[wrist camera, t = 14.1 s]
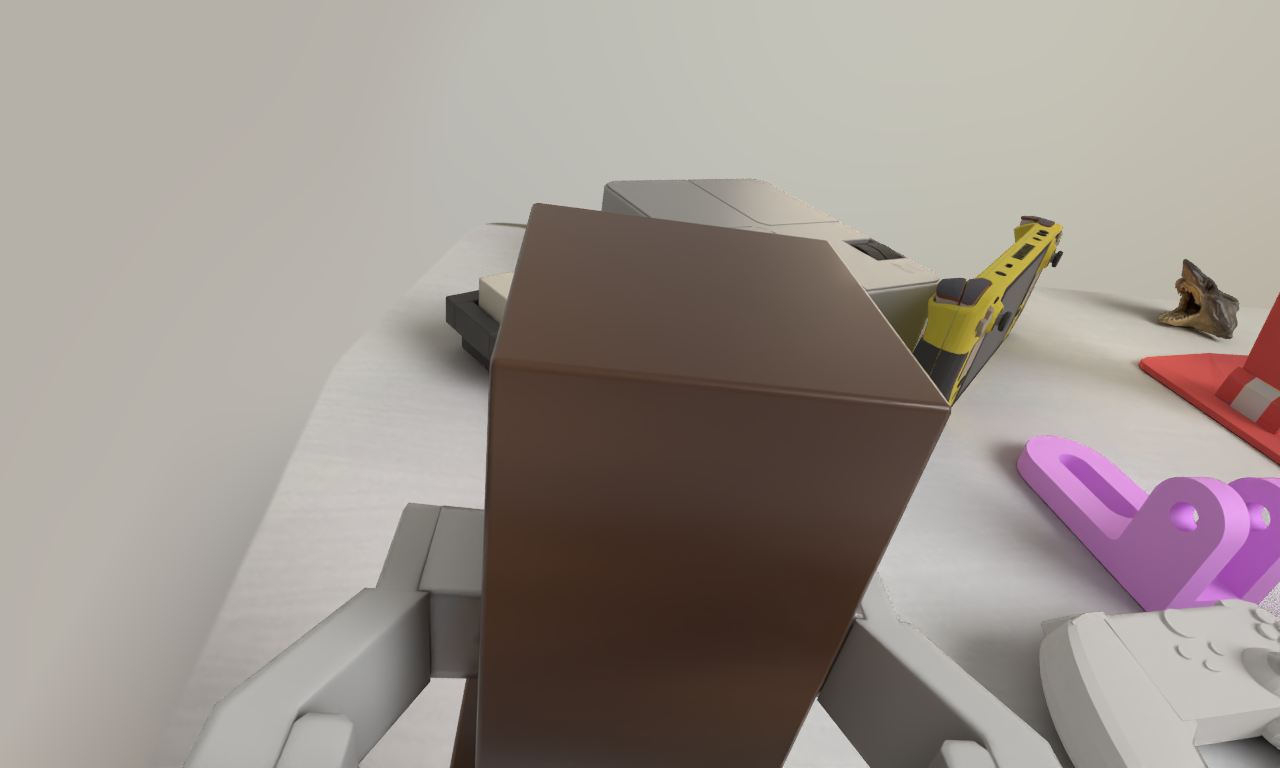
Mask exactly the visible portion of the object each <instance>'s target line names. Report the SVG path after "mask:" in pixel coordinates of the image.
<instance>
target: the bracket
mask: <svg viewBox="0 0 1280 768" xmlns="http://www.w3.org/2000/svg"><path fill="white" fill-rule="evenodd" d="M1017 469H1018V471H1019V473H1020V475H1021V476H1022V477H1023V479H1024V480H1025V481H1026V482H1027V483H1028V484H1029V485H1030V486H1031V487H1032V489H1033V490H1034V491H1035V492H1036V493H1037V494H1038V495H1039V496H1040V497H1041V498H1042V499H1043V500H1044V502H1045V503H1046V504H1047V505H1048V506H1049V507H1050V508H1051V509H1052V510H1053V511H1054V512H1055V513H1056V515H1057V516H1058V517H1059V518H1060V519H1061V520H1062V521H1063V522H1064V523H1065V524H1066V525H1067V526H1068V528H1069V529H1070V530H1071V531H1072V532H1073V533H1074V534H1075V535H1076V536H1077V537H1078V538H1079V539H1080V541H1081V542H1082V543H1083V544H1084V545H1085V546H1086V547H1087V548H1088V549H1089V550H1090V551H1091V552H1092V554H1093V555H1094V556H1095V557H1096V558H1097V559H1098V560H1099V561H1100V562H1101V563H1102V564H1103V565H1104V567H1105V568H1106V569H1107V570H1108V571H1109V572H1110V573H1111V574H1112V575H1113V576H1114V577H1115V578H1116V580H1117V581H1118V582H1119V583H1120V584H1121V585H1122V586H1123V587H1124V588H1125V589H1126V590H1127V591H1128V592H1129V594H1130V595H1131V596H1132V597H1133V598H1134V599H1135V600H1136V601H1137V602H1138V603H1139V604H1140V605H1141V607H1142V608H1143V609H1144V610H1145V611H1146V612H1152V611H1163V610H1167V609H1185V608H1195V607H1206V606H1214V603H1216V602H1217V601H1219V600H1225V599H1238V600H1243V601H1247V602H1251V603H1255V604H1257V605H1258V604H1259V603H1260V602H1261V601H1262V600H1263V599H1264V598H1265V597H1266V596H1267V594H1268V593H1269V592H1270V591H1271V590H1272V589H1273V588H1274V587H1275V586H1276V585H1277V584H1278V583H1279V582H1280V478H1241V479H1238V480H1235V481H1233V482H1231V483H1229V484H1226V483H1224V482H1222V481H1220V480H1217V479H1214V478H1209V477H1174V478H1170V479H1167V480H1165V481H1163V482H1161V483H1160V484H1159V485H1157V486H1156V487H1155V489H1154V490H1153V491H1152V493H1151V494H1150V495H1148V494H1146V493H1145V492H1144V491H1143V490H1142V489H1141V488H1140V487H1139V486H1137V485H1136V484H1135V483H1134V482H1133V481H1132V480H1131V479H1130V478H1129V477H1127V476H1126V475H1125V474H1124V473H1123V472H1122V471H1121V470H1120V469H1119V468H1117V467H1116V466H1115V465H1114V464H1113V463H1112V462H1111V461H1109V460H1108V459H1107V458H1105V457H1104V456H1102V455H1101V454H1099V453H1097V452H1096V451H1094V450H1092V449H1090V448H1088V447H1086V446H1084V445H1082V444H1079V443H1077V442H1074V441H1071V440H1068V439H1065V438H1061V437H1055V436H1036V437H1033V438H1031V439H1030V440H1029V441H1028V442H1027V444H1026V446H1025V448H1024V449H1023V451H1022V453H1021V455H1020V457H1019V458H1018V460H1017ZM1263 507H1265V508H1266V509H1267V510H1268V511H1269V513H1270V517H1271V521H1270V524H1269V526H1267V525H1266V524H1265V523H1264V522H1263V519H1262V515H1261V513H1262V509H1263ZM1194 509H1196V511H1197V513H1198V516H1199V520H1198V521H1197V522H1196V523H1195V521H1194V518H1193V511H1194Z"/></svg>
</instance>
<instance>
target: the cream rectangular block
mask: <svg viewBox="0 0 1280 768" xmlns="http://www.w3.org/2000/svg"><path fill="white" fill-rule="evenodd" d="M514 272H515V271H514ZM514 272H508V273H503V274H498V275H492V276H487V277H481V278H479V307H480V308H481V309H482V310H483V311H485V312H486V313H487V314H488V315H489V316H491V317H492V318H493V319H494V320H495V321H497V322H498V323H499V324H501V320H502V316H503V313H504V309H505V305H506V301H507V298H508V294H509V290H510V287H511V283H512V279H513V275H514Z"/></svg>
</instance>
